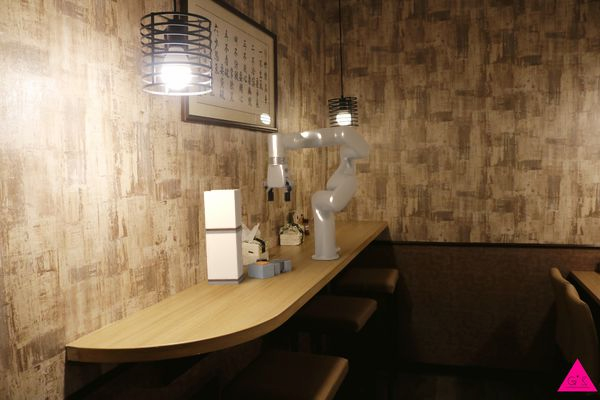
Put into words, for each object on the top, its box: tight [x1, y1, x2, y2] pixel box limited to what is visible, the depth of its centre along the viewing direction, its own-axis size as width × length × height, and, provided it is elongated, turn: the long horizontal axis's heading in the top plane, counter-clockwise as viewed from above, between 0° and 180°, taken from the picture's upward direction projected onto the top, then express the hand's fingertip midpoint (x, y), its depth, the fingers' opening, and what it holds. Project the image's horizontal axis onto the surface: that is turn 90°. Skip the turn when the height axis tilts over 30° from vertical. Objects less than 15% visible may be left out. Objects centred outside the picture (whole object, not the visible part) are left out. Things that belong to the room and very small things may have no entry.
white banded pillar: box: [203, 188, 245, 286], centre depth 196 cm, size 11×11×35 cm
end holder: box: [247, 261, 275, 280], centre depth 204 cm, size 6×8×5 cm
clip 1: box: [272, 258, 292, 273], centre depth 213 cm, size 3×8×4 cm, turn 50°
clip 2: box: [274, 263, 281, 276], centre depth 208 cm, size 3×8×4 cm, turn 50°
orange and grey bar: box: [253, 258, 291, 271], centre depth 209 cm, size 17×5×5 cm, turn 140°
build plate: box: [256, 257, 269, 262], centre depth 220 cm, size 12×7×5 cm, turn 129°
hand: (279, 201), depth 223 cm, fingers open, 9 cm apart
